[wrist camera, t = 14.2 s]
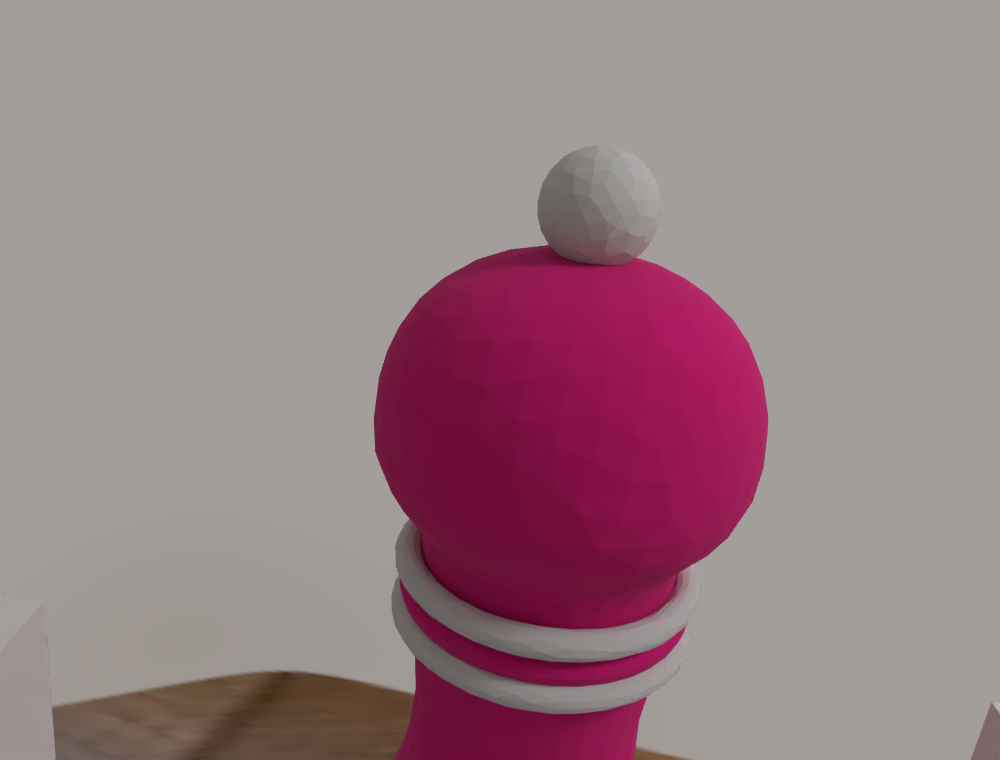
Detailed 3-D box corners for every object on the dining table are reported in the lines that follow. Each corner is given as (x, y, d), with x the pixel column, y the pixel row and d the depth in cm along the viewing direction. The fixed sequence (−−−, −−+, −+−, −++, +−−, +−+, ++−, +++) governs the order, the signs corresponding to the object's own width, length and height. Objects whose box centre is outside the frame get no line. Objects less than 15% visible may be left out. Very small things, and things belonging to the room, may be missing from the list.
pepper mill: (349, 916, 23) (409, 102, 17) (632, 969, 23) (815, 152, 16) (242, 1266, 17) (268, 134, 10) (640, 1353, 16) (963, 223, 9)
